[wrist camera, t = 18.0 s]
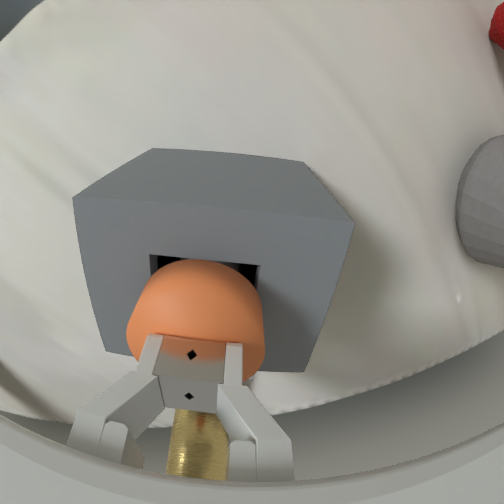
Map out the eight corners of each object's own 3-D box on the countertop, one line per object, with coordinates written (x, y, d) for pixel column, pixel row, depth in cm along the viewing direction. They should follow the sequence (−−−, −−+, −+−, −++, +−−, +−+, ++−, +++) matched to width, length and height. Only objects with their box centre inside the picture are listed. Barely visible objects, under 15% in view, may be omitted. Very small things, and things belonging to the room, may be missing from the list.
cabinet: (153, 253, 21) (105, 351, 13) (152, 148, 17) (72, 197, 9) (291, 266, 22) (315, 372, 13) (312, 163, 18) (369, 225, 10)
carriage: (172, 344, 24) (141, 497, 12) (167, 279, 20) (108, 467, 8) (251, 352, 24) (255, 509, 12) (263, 289, 21) (277, 487, 9)
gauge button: (183, 246, 19) (137, 380, 10) (185, 180, 17) (115, 287, 8) (251, 252, 20) (255, 394, 10) (260, 187, 18) (276, 304, 8)
